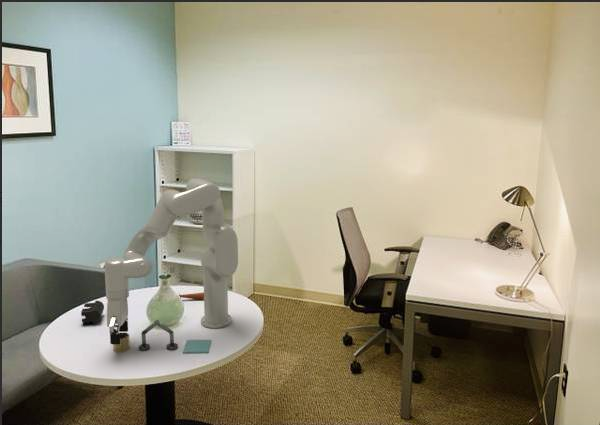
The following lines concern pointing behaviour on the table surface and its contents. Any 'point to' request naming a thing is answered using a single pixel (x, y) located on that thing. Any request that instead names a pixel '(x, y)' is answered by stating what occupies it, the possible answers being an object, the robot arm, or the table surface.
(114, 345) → the bronze ring
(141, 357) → the table surface
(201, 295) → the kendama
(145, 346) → the pipe arch
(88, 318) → the dark brown lumpy block
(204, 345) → the mat
